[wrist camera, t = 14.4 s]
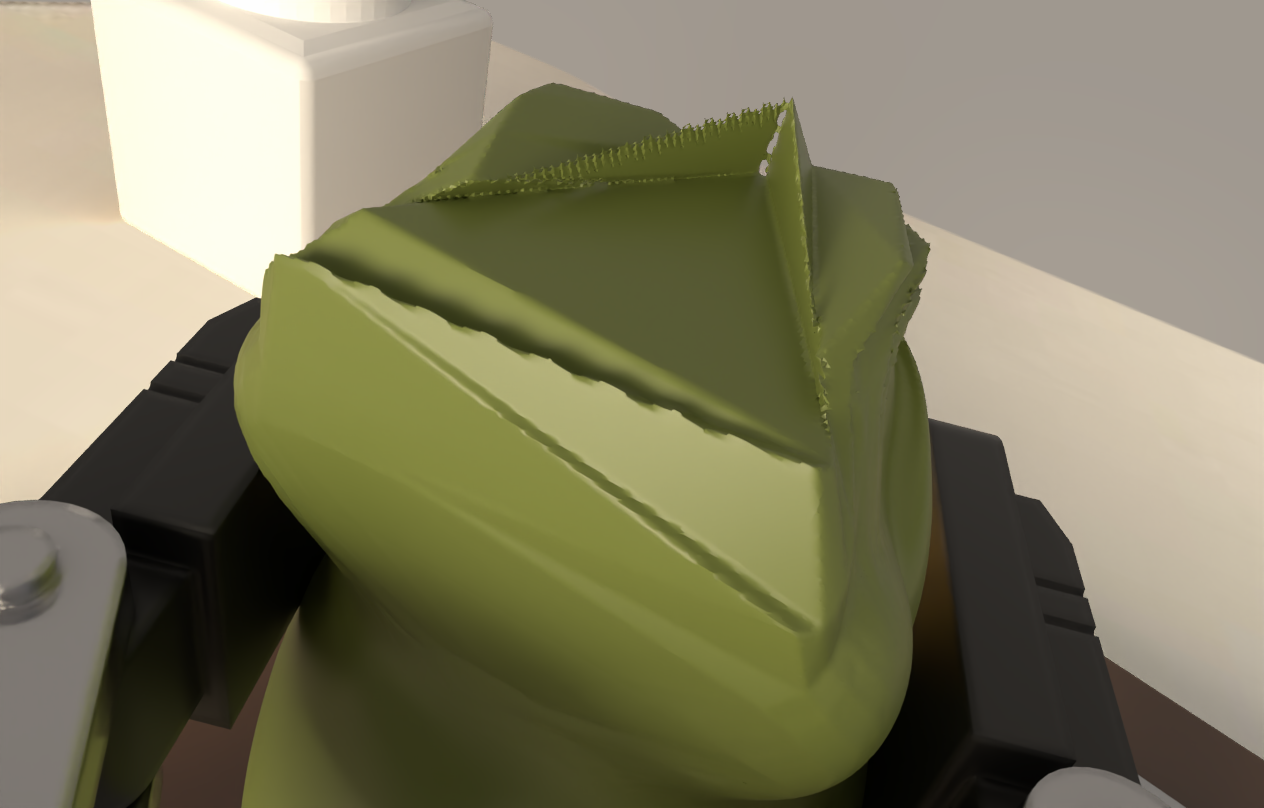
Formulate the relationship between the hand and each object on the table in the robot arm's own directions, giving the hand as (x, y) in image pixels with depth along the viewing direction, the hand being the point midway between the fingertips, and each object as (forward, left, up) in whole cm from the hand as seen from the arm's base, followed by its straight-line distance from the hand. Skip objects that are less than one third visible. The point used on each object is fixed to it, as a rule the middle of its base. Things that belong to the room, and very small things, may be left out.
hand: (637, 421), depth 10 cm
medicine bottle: (-18, +9, -10) cm, 23 cm away
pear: (+1, -2, -6) cm, 7 cm away
